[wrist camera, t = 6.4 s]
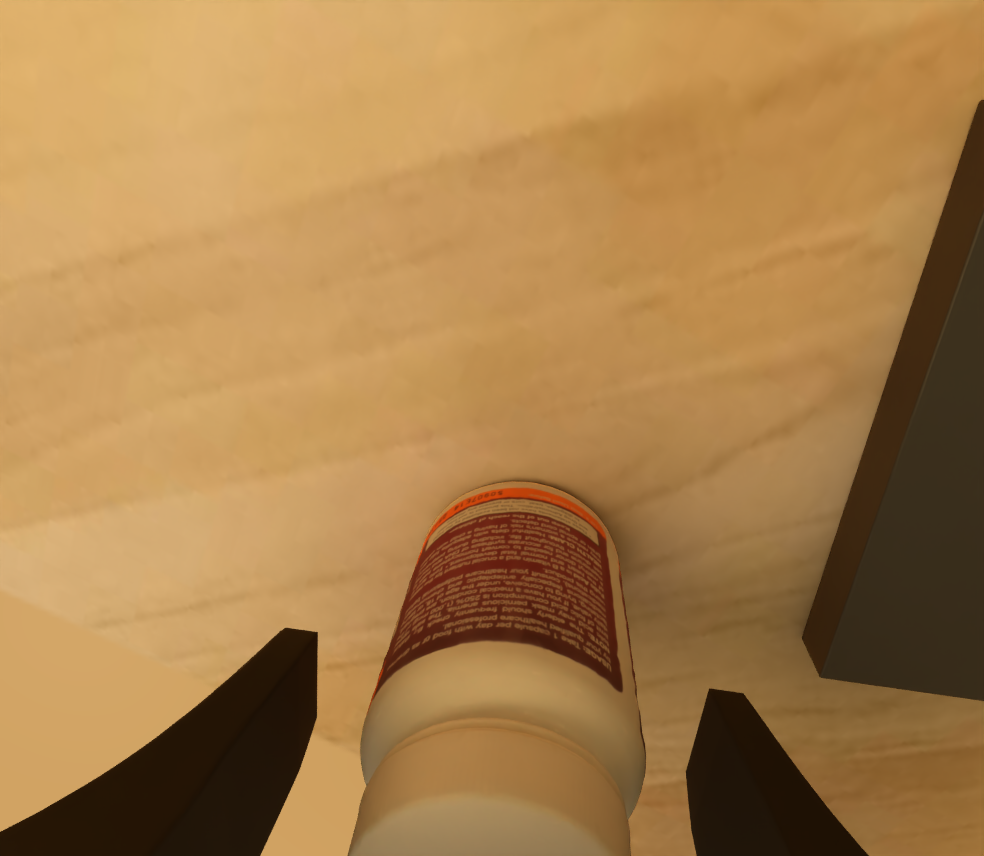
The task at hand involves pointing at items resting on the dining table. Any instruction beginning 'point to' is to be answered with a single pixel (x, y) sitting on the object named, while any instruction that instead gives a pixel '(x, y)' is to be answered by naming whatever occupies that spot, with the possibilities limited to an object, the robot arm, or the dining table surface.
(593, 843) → the pill bottle
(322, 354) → the dining table surface
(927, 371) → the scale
